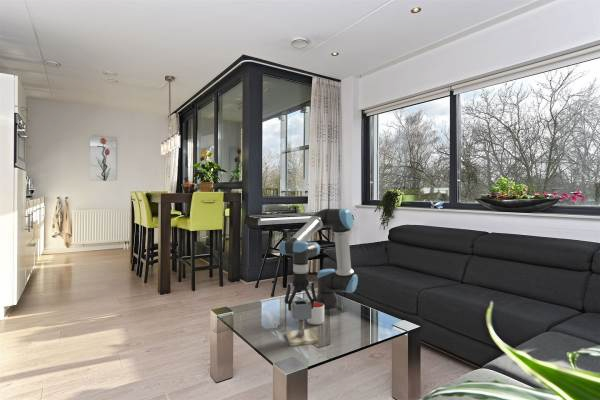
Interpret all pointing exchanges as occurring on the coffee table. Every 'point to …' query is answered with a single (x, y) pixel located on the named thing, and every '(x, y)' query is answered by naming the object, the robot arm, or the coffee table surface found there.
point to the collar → (302, 309)
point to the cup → (317, 314)
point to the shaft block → (301, 335)
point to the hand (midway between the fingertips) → (300, 315)
